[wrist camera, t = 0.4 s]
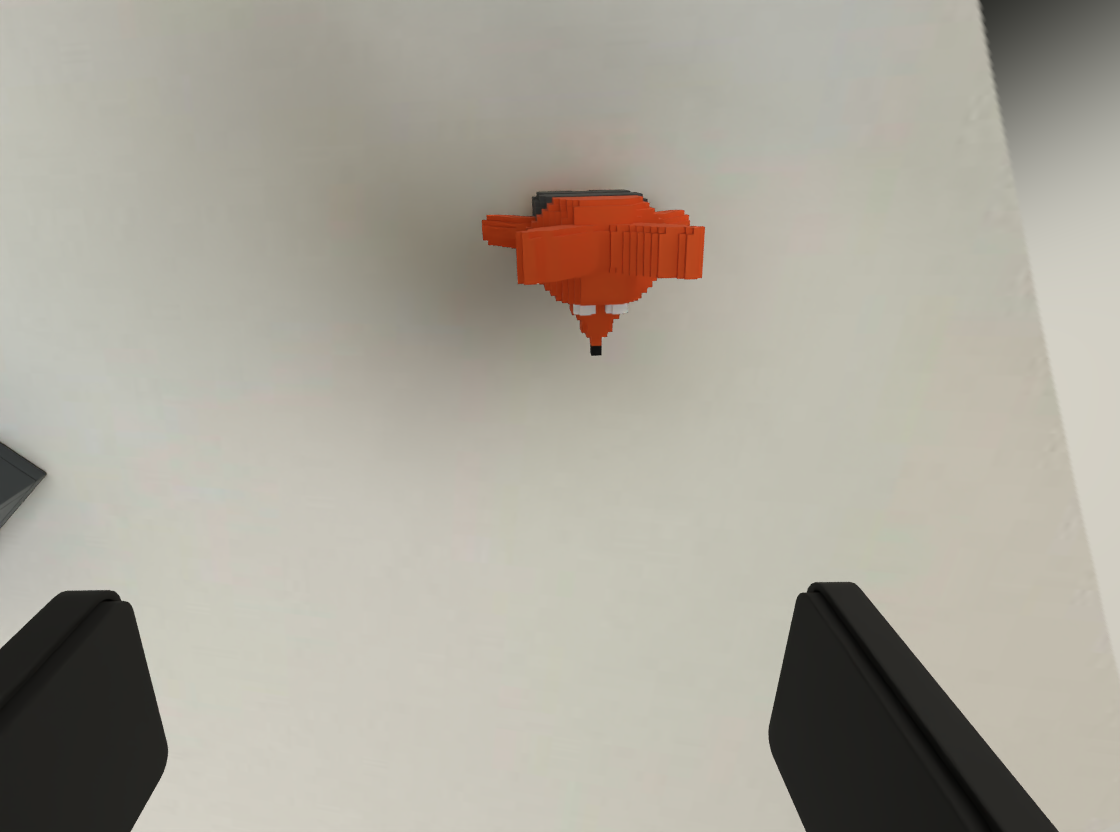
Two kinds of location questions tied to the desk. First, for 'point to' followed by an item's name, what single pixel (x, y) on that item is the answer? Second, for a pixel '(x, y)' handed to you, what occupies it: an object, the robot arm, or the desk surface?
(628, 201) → the toy animal
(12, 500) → the bin
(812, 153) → the desk surface
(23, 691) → the robot arm
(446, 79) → the desk surface
